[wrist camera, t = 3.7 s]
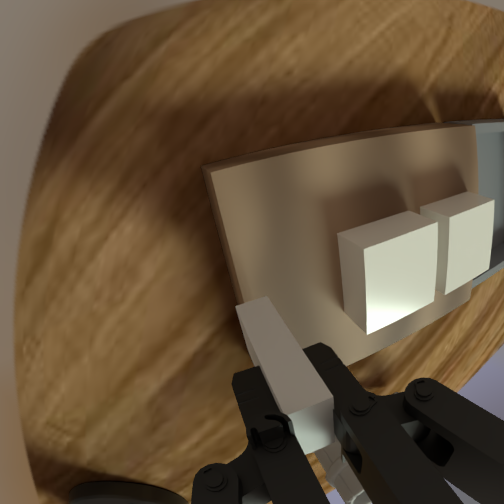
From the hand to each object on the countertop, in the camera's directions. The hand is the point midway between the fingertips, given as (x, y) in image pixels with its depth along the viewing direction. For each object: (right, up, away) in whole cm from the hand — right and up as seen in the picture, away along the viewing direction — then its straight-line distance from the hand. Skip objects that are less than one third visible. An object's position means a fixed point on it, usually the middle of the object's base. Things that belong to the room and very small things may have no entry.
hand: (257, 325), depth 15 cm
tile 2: (+7, +3, +3) cm, 8 cm away
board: (+7, +4, +7) cm, 11 cm away
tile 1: (+13, +5, +4) cm, 14 cm away
